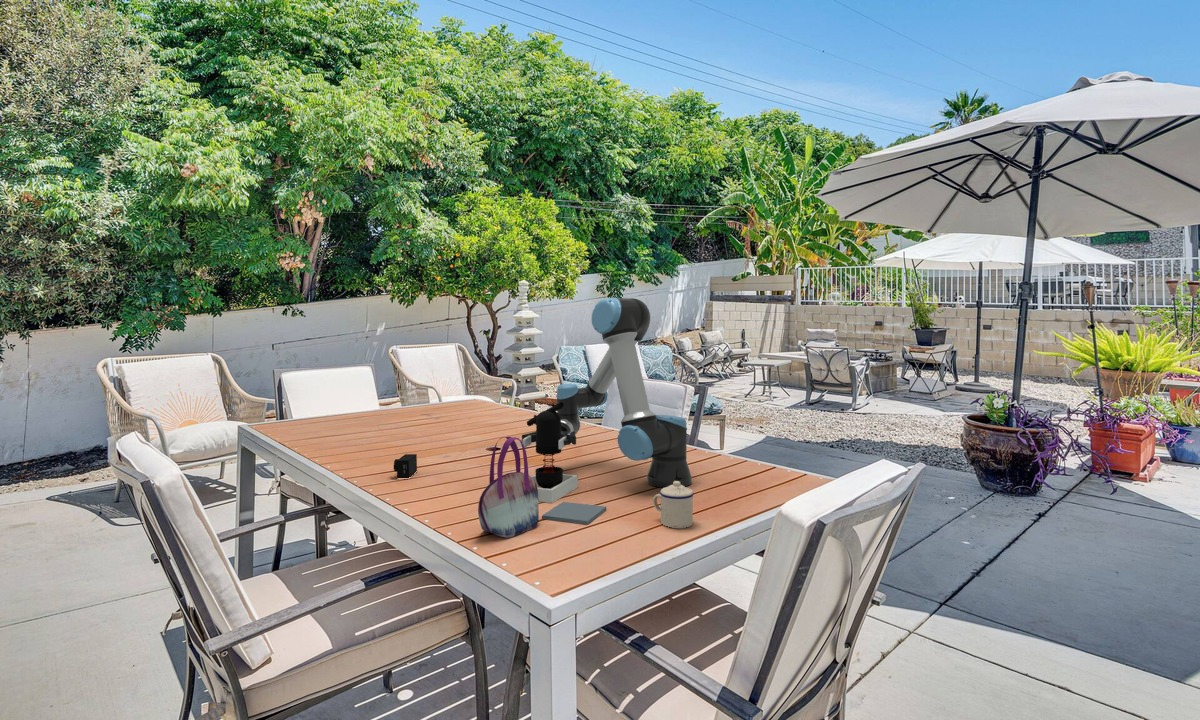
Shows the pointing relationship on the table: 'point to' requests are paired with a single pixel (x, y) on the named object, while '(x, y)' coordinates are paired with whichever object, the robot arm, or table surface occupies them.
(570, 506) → the slate mat
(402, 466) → the digital camera
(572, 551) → the table surface
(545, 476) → the filter
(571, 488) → the white open rectangular box
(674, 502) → the teacup with lid
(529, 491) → the handbag
